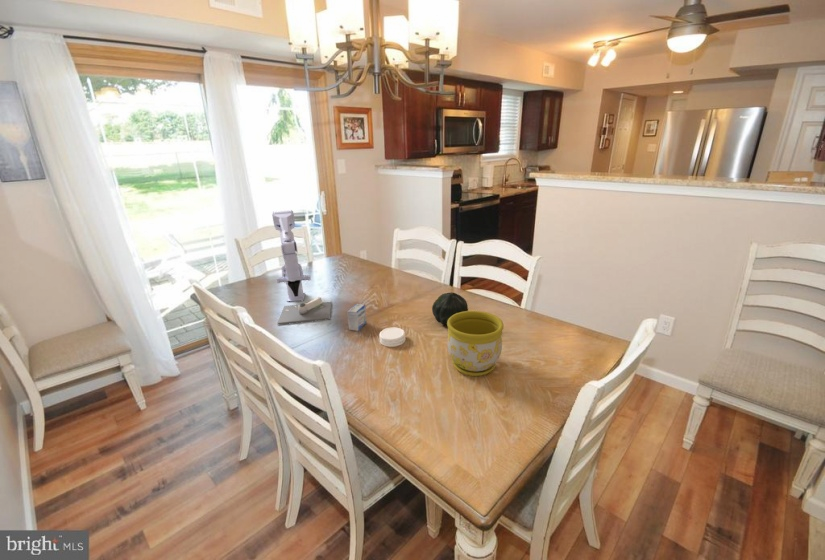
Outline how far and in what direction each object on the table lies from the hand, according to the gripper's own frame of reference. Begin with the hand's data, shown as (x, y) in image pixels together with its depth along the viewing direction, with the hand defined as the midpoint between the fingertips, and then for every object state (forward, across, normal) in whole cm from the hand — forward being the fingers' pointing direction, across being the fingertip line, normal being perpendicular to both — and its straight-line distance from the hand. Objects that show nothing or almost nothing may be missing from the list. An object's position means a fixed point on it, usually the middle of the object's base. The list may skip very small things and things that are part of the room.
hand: (296, 295), depth 167 cm
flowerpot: (+7, +65, -61) cm, 90 cm away
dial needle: (+6, +6, -3) cm, 9 cm away
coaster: (+7, +40, -38) cm, 56 cm away
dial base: (+7, +4, -5) cm, 10 cm away
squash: (+7, +66, -28) cm, 72 cm away
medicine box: (+7, +27, -23) cm, 36 cm away
